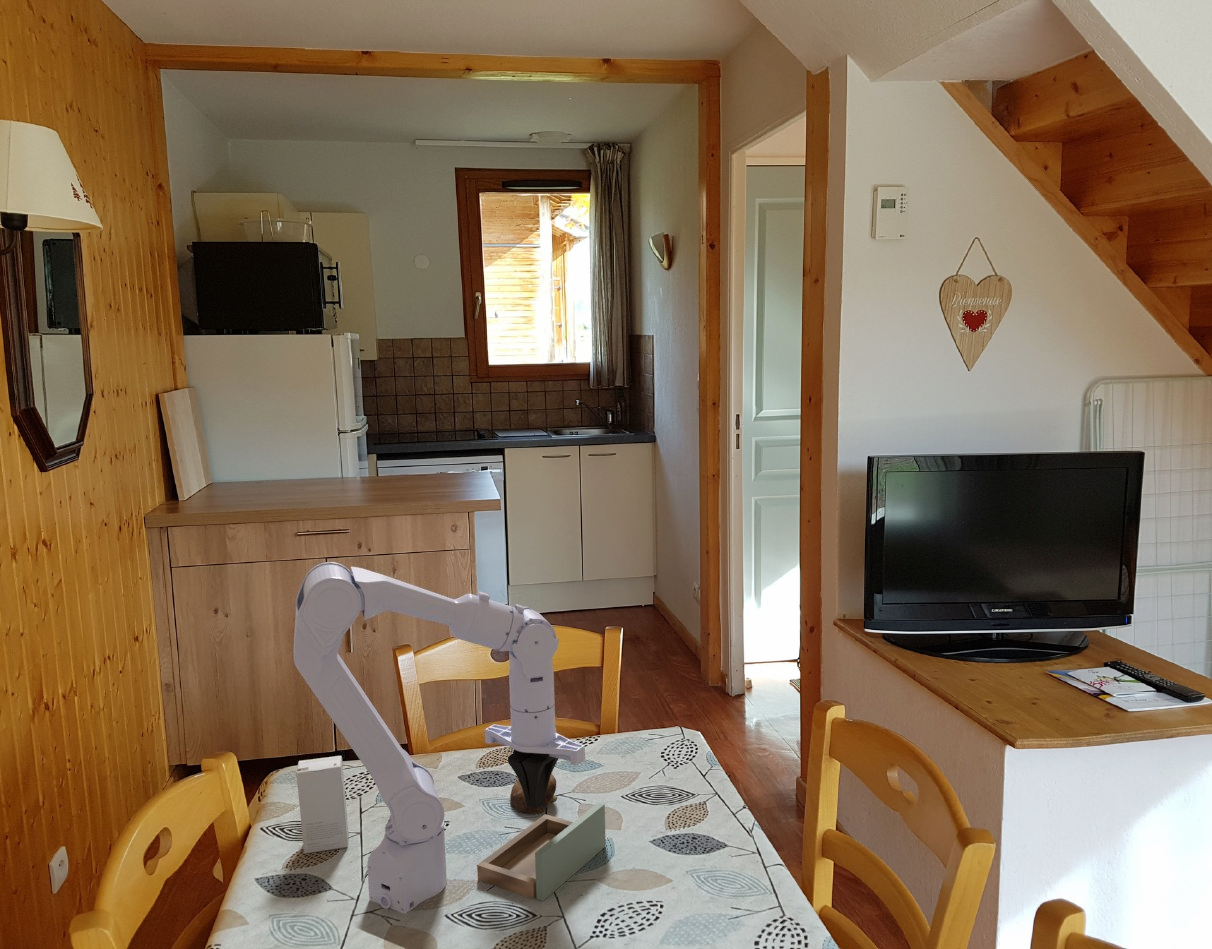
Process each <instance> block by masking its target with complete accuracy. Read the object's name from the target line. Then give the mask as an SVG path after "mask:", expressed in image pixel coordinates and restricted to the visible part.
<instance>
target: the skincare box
mask: <svg viewBox="0 0 1212 949" xmlns="http://www.w3.org/2000/svg"><path fill="white" fill-rule="evenodd" d="M295 776H296V783H297V793H298V802H299V804H298V805H299V812H300V813H299V814H300V823H301V824H300V825H301V835H302V843H303V844H302V846H303V853H304V854H311V853H319V852H323V851H324V852H325V851H330V850H336V849H343V848H348V847H349V835H350V834H349V833H350V831H349V822H348V813H347V811H348V810H347V800H346V799H347V798H346V789H345V778H344V776H345V775H344V766H343V757H342V755H335V756H329V757H320V758H313V759H304V760H299V761H298V762H297V769H296V775H295Z"/></svg>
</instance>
